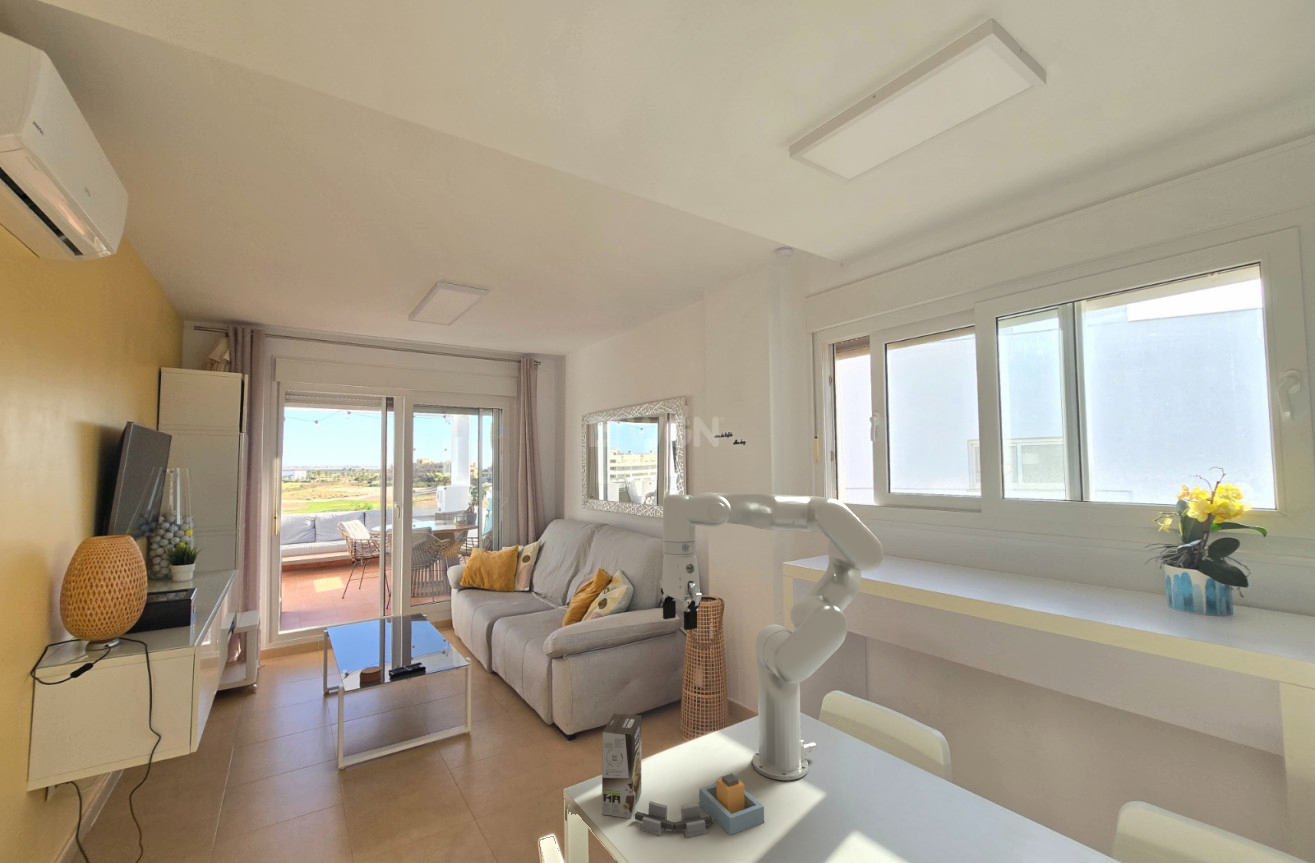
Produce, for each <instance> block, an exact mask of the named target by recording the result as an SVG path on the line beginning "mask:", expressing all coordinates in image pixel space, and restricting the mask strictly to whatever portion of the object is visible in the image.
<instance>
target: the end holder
mask: <svg viewBox="0 0 1315 863" xmlns="http://www.w3.org/2000/svg"><path fill="white" fill-rule="evenodd" d="M698 792H699V794H698V795H699V796H698V797H699V805H700V807H702V808H703V809H704V810H705V811H706V812H707V813H708V814H709V815H711V816H712V818H713V820H715V821H716V822H717V823H718V824H719V826H721V827H722V828H723V829H724V830H725V831H726V832H727V834H729V835H730V836H731V835H735V834H737V833H740V832H742V831H744V830H749V829H751V828H754V827H756V826H758V825H761V824H763V823H765V806H764V805H763V804H762V803H761V802H760V801H758V800H757V799H756V798H755V797H754V796H753V795H751V794H750V793H749V792H748V791H747V790H745V789H744V797H745V809H744V810H741V811H739V812H736V813H733V814H731V813H730V812H729V811H728V810H727V809H726V808H725V807H724V806H723V805H722V804H721V803H719V802H718V801H717V783H716V782H715V783H712V784H709V785H707V786H703V787H699V790H698Z"/></svg>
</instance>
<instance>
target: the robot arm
mask: <svg viewBox="0 0 1315 863" xmlns="http://www.w3.org/2000/svg"><path fill="white" fill-rule="evenodd" d="M725 524H728V525H729V524H731V525H732V524H733V525H742V526H747V527H751V528H756V529H759V530H765V531H766V530H767V531H780V532H781V531H785V532H786V531H788V532H804V533H805V532H807V533H809V532H810V533H811V532H812V533H819V534H822V535H824V536H825V538H826V539H827V540H828V541H827V555H828V564H827V568H826V570H825V572H824V574H823V575H822V576H821V578H819V580H818V581H817V582H815V584H813V585H812V587H810V588H809V589H808V590H807V591H806V592H805V593H804V594H803V595H802V596H801V597H800V598H799V599H798V600H797V601H796V602H795V603H794V604H793V605H792V607H791V609H790V616H789V617H790V621H791V623H792V625H793V626H794V627H795V629H794V630H793V631H791V630H790V629H789V628H787V627H785V626H783V625H780V624H775V623H774V624H768V625H766V626H764V627H762V628H761V629H760V631H759V632H758V633H757V635H756V638H755V643H754V655H755V656H754V657H755V663H756V672H757V673H756V674H757V687H758V688H757V699H758V700H757V703H758V704H757V705H758V706H757V707H758V709H757V711H758V713H757V714H758V717H757V718H758V750H757V751H756V752H755V753H754V754H753V755H752V758H751V759H752V760H751V761H752V767H753V768H754V769H755V770H756V772H757V773H759V774H761V775H762V776H764V777H766V778H769V779H772V780H776V781H777V780H778V781H795V780H798V779H800V778H803V777H804V776H805V775H806V774H807V773H808V771H809V763H808V760H807V759H806V758H805V756H807V755H808V753H812V752H814V751H817V744H816V742H814V741H810V742H808V743H807V742H806V743H805V741H804V739H801V735H802V734H801V690H800V689H801V688H800V683H801V682H804V681H805V680H807V679H808V678H809V677H810V676H812V675H813V674H814V673H816V671H817V670H818V669H819V668H820V667H822V665H823V664H824V663H825V662H826V661H827V660H828V659H829V658H831V656H832V655H833V654H834V653H835V652H836V651H837V650H838V649H839V648H840V647H841V645H842V644H843V643H844V641H845V639H846V637H847V634H848V630H849V625H848V624H849V623H848V620H847V619H848V618H847V616H846V615H845V613H844V611H845V610H846V609H847V608H848V606H849V605H850V604H851V602H852V601H853V600H854V599H855V598H856V597H857V594H858V593H859V590H860V586H861V581H862V572H865V573H866V572H873V571H875V570H877V569H878V568H879V567H880V566H881V564H882V563H883V560H884V548H883V545H882V543H881V541H880V540H879V539H878V538H877V536H876V535H874V533H873V532H872V531H871V530H870V529H869V528H868V527H867V526H866V525H865V524H864V523H863V522H862V521H861V520H860V519H859V517H857V516H856V515H855V513H853V512H852V510H850V508H848V507H847V506H846V505H845V503H842V502H841V501H840V500H838V499H835V498H831V497H823V496H817V495H816V496H811V495H794V494H777V493H776V494H774V493H773V494H772V493H748V494H747V493H744V494H743V493H730V492H729V493H728V492H707V491H706V492H701V493H699V494H697V495H696V496H695V495H694V496H693V495H690V494H679V493H678V494H668V495H666V496H665V497H664V498H663V502H662V555H663V562H662V575H661V577H662V578H661V579H659V585H660V592H661V601H662V619H664V620H670V619H675V618H676V617H677V615H676V614H677V609H676V606H677V605H676V604H677V602H676V600H677V601H679V602H682V603H683V607H684V610H685V611H683V630H685V631H689V630H695V629H698V611H699V607H700V605H701V599H702V596H703V595H702V593H701V591H700V588H701V587H700V573H699V564H698V558H697V555H696V526H703V527H708V528H709V527H710V528H711V527H712V528H716V527H721V526H723V525H725ZM688 602H690V603H688Z"/></svg>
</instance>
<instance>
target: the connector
mask: <svg viewBox="0 0 1315 863" xmlns="http://www.w3.org/2000/svg"><path fill="white" fill-rule="evenodd" d="M715 783H717V801H718V802H719V803H721V804H722V805H723V806H724V807H725V808H726V809H727V810H728V811H729V812H730V813H731V814H733V813H736V812H739V811H741V810H744V809H745V797H744V790H745V783H743V782H742V781H741V780H740V779H739V778H738V777H736V775H734V774H733V773H730V774H726V775H723V776H721V777H720V778H717V779H716V782H715Z"/></svg>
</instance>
